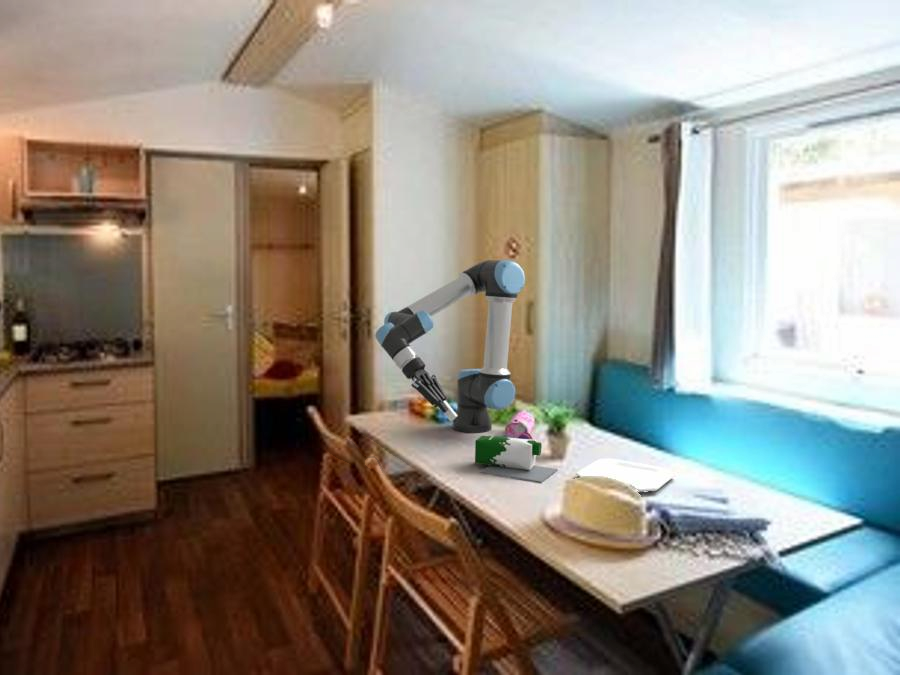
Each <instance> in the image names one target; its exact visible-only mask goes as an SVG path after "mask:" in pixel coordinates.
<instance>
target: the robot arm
mask: <svg viewBox="0 0 900 675" xmlns="http://www.w3.org/2000/svg"><path fill="white" fill-rule="evenodd" d="M525 281H526V277H525V273H524V269H523V268H522V267H521V266H520V264H518V263H517V262H515V261H512V260H506V259H505V260H503V259H502V260H501V259H500V260H493V259H491V260H490V259H489V260H483V261H481V262H479V263H477V264H474V265H473V266H471V267H469V268H467V269H466V270H463V271H462V272H461V273H459V274H458V277H457V278H455V279H454V280H451V281H450V282H448V283H446V284H444V285H443V286H441V287H440V288H437V289H436V290H434V291H432V292H430V293H429V294H427V295H425V296H423V297H422V298H420V299H419V300H417V301H415V302H413V303H411V304H409V305H407V306H405V307H404V308H402V309H400V310H398V311H391V312H389V313H388V314H386V315H385V317H384V320H383V323H384V324H382V325H381V326H380V327H379V328H378V329H377V331H376V332H375V335H374V336H375V339H376V341H377V342H378V344H379V345H380V347H381V348H382V349H383V350H384V351H385V352H386V354H387V355H388V356H389V357H390V359H392V361H393V362H394V363H395V365H396V366H397V367H398V368H399V370H401V372H402V374H403V375H404V377H405V378H407V379H408V380H411V381H412V383H411V385H410V386H411V387H412V388H414V389H415V390H416V391H417V392H418V393H419V394H421V396H422V397H423V398H425V400H426V401H427V402H428V403H429V404H430V405H431V406H433V407H434V408H435V409H436V408H437V407H438V408H439V410H441V412H442V413H443V414H444V417H446V418H447V419H448V421H449V422H452V429H453V430H455V431H457V432H462V433H485V432H489V431H491V430H492V426H493V424H492V420H491V415H490V413H489V409H490V410H497V411H502V410H505V409H507V408H508V407H509V406H510V405H511V404H512V403H513V401H514V399H515V398H516V397H515V396H516V387H515V385H514V384H513V382H512V381H511V375H512V374H511V372H510V370H509V369H508V361H509V360H508V359H509V349H510V348H509V347H510V339H511V338H510V337H511V327H512V326H511V325H512V312H513V304H514V303H515V301H517V300H518V293H520V292H521V291H522V289H523V288H524V285H525ZM479 293H480V294H481V293H484V295H485V296H484V297H485V299H486V300H487V301H488V310H487V323H486V334H485V345H484V355H483V356H484V357H483V367H481V368H468V369H461V370H459V371H458V373H457V380H456V381H457V405H456V406H457V408H456V411H454V409H453V407H451V405H450V404H449V403H448V402H447V399H448V395H447V394H446V392H445V391H444V389H443V388H442V386H441V384H440V383H439V381H438V380H437V376H436V375H435V374H432V375H431V374H429V372H428V371H427V370H426V369H425V367H426V363H425V362H424V361H423V360H422V359H421V357H419V354H418V353H417V352H416V351H415V350H414V348H413V347H412V346H411V345H410V344H411V343H412V342H415V341H416V340H418V339H419V338H421V337H423V336H424V335H425V334H427V333H429V332H430V331H431V330H432V329H434V321H433V318H432V317H433V316H434V315H436V314H438V313H440V312H442V311H443V310H445V309H447V308H448V307H450V306H452V305H454V304H456V303H457V302H460V301H462V299H464V298H466V297H468V296H470V297H473V296H475V295H477V294H479Z"/></svg>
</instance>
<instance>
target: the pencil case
mask: <svg viewBox="0 0 900 675" xmlns="http://www.w3.org/2000/svg"><path fill="white" fill-rule="evenodd" d="M535 423H536V419H535V415H534V413H533V412H532V411H530V410H527V409H525V408H524V409H523V408H522V409H519V410H517V411H515V412H514V414H513V415H512V417H511V419H510V420H509V422H508V423H507V424H506V425H505V428H504V435H505V436H504V437H508V438H518V437H519V435H521V434H522V433H524V432H527V433H529V434H530V435H531V436H532V432H533V431H534V428H535Z"/></svg>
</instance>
